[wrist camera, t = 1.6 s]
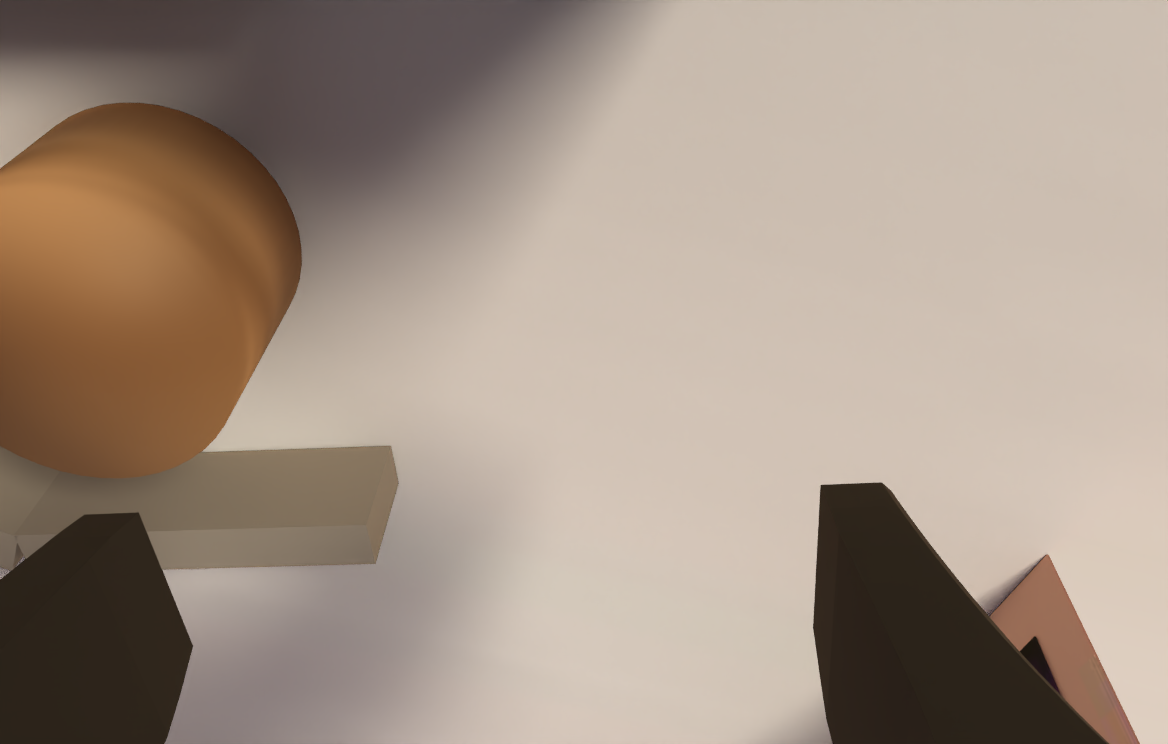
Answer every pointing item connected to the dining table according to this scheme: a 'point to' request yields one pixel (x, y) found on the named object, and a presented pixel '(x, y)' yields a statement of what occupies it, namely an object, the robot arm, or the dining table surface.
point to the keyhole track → (217, 507)
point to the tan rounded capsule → (135, 288)
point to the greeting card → (1062, 650)
